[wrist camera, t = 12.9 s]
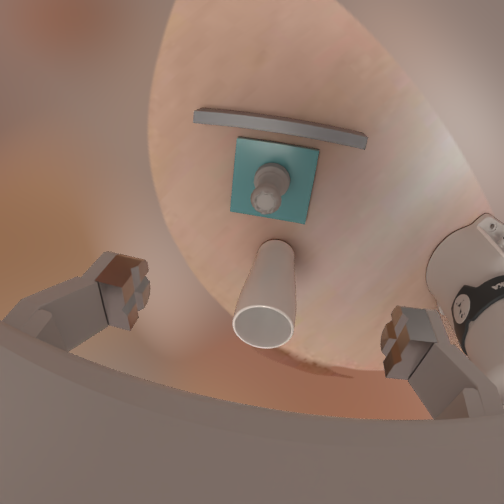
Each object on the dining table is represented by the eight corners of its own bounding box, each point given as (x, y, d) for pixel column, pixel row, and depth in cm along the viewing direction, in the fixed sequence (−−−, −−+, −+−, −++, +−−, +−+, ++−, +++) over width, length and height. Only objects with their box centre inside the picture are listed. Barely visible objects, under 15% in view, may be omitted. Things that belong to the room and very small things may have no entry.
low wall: (363, 132, 35) (367, 137, 32) (360, 144, 35) (365, 149, 33) (201, 107, 36) (194, 110, 34) (201, 119, 37) (193, 122, 34)
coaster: (318, 149, 37) (319, 151, 36) (304, 220, 42) (304, 224, 41) (238, 136, 38) (236, 138, 37) (231, 208, 43) (230, 211, 42)
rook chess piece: (280, 155, 37) (274, 175, 30) (296, 187, 39) (293, 214, 32) (248, 170, 39) (235, 193, 32) (264, 200, 40) (255, 229, 34)
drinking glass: (283, 280, 48) (272, 357, 35) (244, 258, 47) (220, 331, 34) (309, 249, 44) (307, 324, 32) (268, 224, 43) (251, 294, 31)
